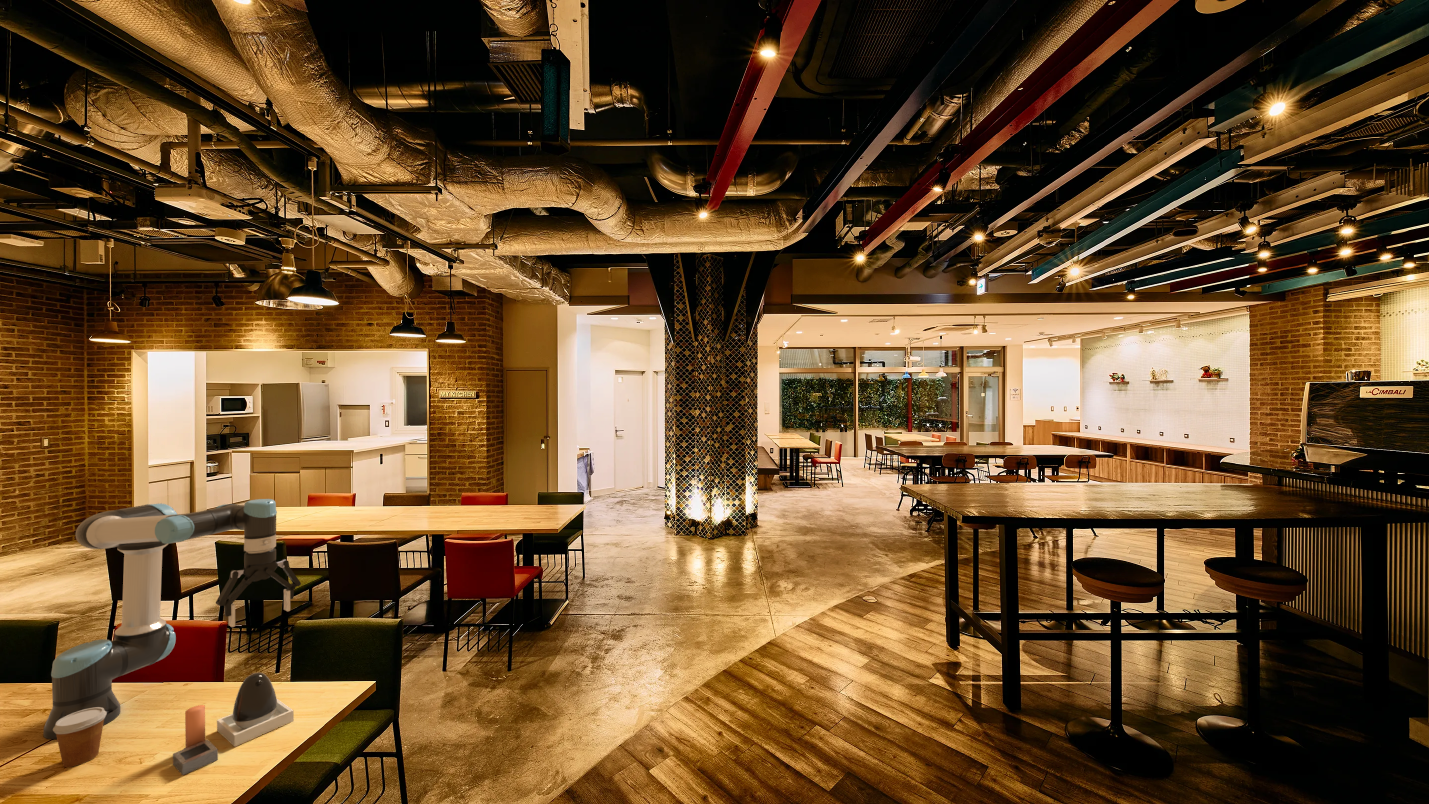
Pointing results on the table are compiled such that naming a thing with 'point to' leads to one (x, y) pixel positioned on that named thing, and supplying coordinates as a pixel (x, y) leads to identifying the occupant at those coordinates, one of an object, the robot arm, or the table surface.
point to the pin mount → (195, 757)
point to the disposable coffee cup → (80, 735)
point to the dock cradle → (242, 735)
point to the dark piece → (254, 701)
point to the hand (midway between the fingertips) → (260, 617)
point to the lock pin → (195, 725)
